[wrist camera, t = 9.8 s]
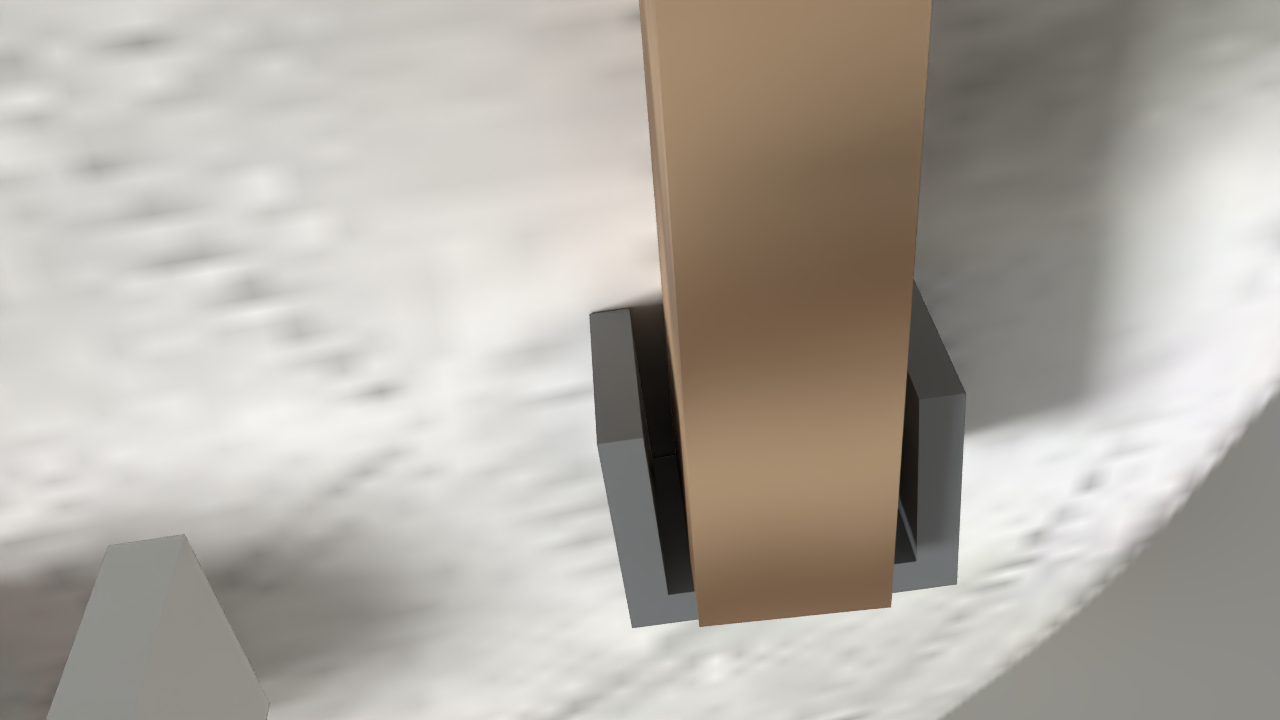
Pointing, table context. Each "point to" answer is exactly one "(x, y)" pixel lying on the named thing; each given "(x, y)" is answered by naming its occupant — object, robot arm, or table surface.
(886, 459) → the wooden block
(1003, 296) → the table surface
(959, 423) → the end caps
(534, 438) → the table surface
